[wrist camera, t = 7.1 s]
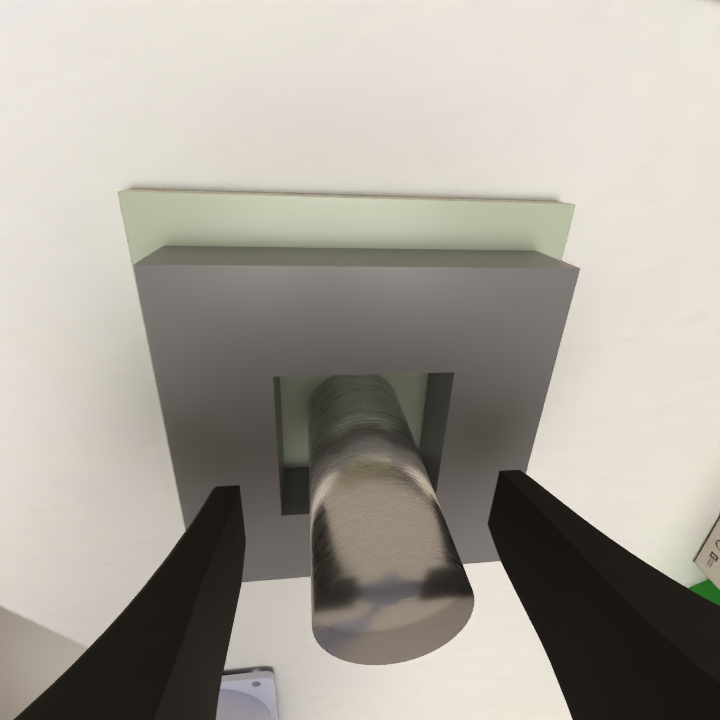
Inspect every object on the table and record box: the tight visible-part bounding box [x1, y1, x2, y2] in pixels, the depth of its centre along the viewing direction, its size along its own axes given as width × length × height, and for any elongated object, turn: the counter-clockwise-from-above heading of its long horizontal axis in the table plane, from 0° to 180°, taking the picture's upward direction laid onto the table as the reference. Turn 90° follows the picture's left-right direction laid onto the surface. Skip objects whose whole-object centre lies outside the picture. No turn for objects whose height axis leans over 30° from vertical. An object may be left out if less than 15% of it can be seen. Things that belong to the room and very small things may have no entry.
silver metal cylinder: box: [308, 374, 474, 665], centre depth 12 cm, size 4×4×8 cm
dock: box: [118, 189, 580, 582], centre depth 15 cm, size 14×15×4 cm
